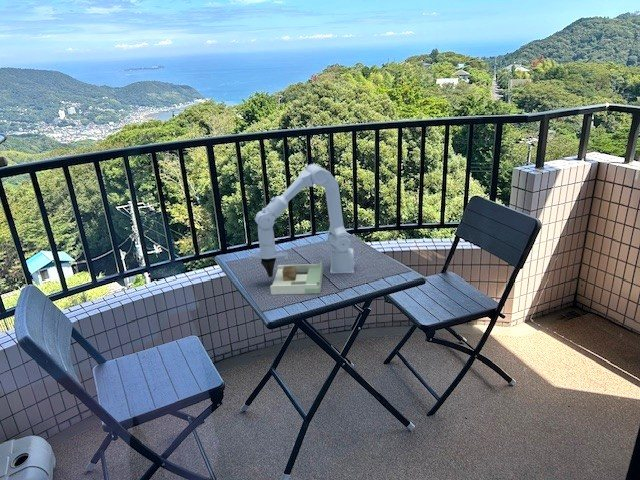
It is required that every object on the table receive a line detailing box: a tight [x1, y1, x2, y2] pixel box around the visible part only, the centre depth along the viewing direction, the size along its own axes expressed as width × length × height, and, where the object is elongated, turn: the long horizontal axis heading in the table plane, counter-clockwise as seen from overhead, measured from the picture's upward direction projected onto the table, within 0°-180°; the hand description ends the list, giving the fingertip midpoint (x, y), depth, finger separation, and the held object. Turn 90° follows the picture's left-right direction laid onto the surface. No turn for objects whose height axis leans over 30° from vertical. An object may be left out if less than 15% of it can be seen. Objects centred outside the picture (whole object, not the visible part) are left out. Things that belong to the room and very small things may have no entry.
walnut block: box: [282, 266, 296, 281], centre depth 167 cm, size 4×4×4 cm
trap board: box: [269, 261, 324, 296], centre depth 168 cm, size 18×18×4 cm
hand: (270, 275), depth 168 cm, fingers closed
